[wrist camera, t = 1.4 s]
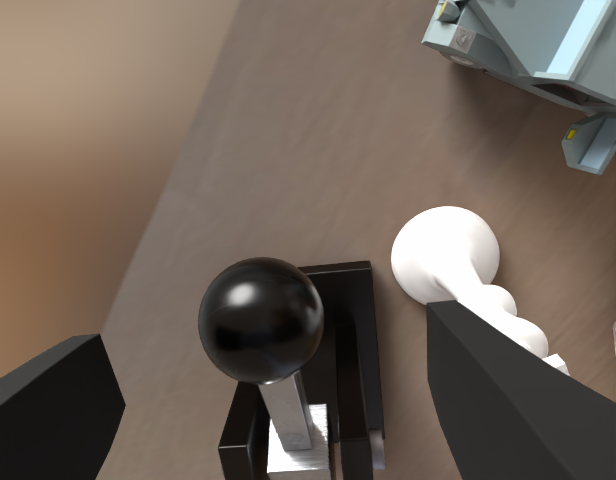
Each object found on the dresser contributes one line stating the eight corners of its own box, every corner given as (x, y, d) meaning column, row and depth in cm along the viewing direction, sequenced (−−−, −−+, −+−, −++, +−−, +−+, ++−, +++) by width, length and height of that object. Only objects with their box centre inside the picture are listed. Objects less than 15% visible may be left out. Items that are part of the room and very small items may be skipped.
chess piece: (509, 279, 20) (670, 436, 11) (414, 317, 21) (484, 494, 12) (475, 188, 19) (624, 277, 10) (374, 233, 20) (418, 355, 10)
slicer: (227, 273, 21) (168, 378, 13) (369, 259, 20) (396, 361, 12) (259, 434, 24) (226, 598, 16) (382, 426, 23) (411, 591, 16)
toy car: (462, -69, 16) (518, -137, 11) (691, 32, 17) (831, 6, 12) (392, 98, 18) (415, 99, 13) (600, 182, 19) (689, 210, 14)
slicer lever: (195, 238, 11) (165, 337, 9) (315, 226, 11) (318, 324, 8) (271, 430, 18) (266, 515, 16) (344, 425, 18) (351, 511, 16)
